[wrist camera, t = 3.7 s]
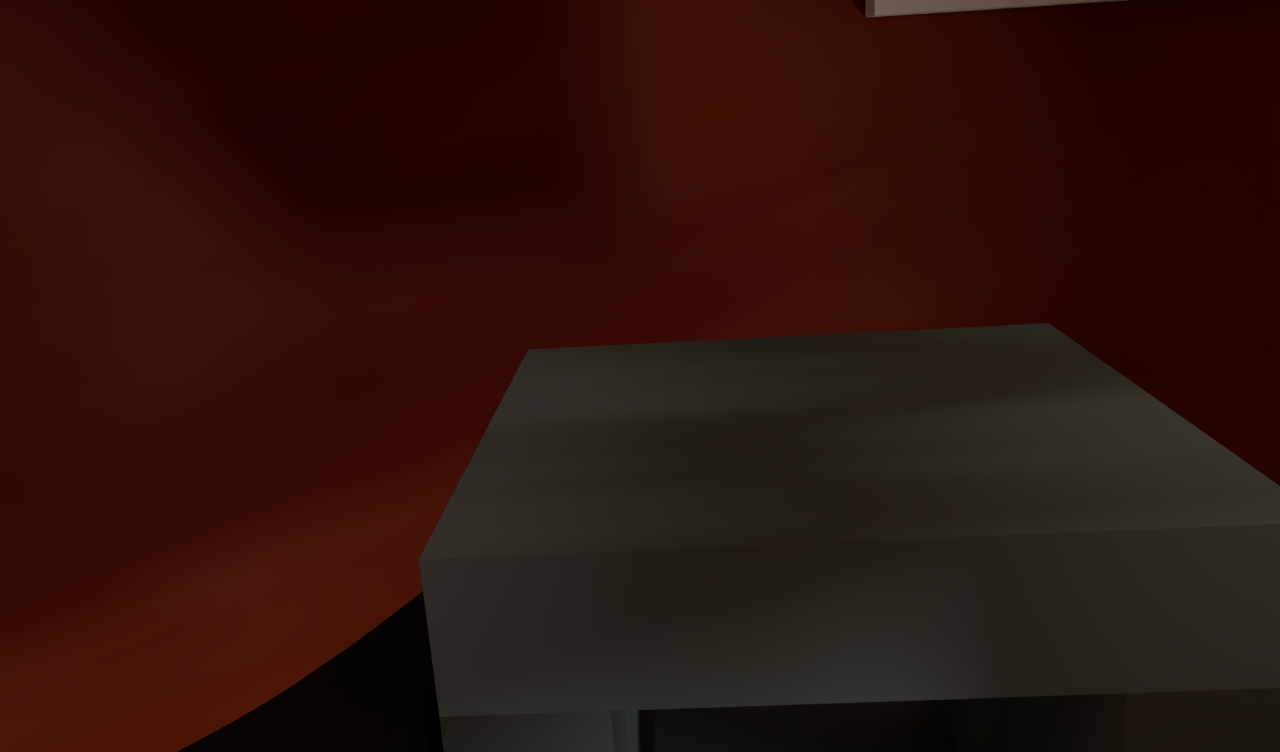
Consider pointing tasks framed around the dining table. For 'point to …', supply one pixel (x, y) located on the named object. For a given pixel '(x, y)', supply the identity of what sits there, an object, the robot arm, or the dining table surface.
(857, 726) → the collar
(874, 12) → the pin plate
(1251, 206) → the dining table surface
